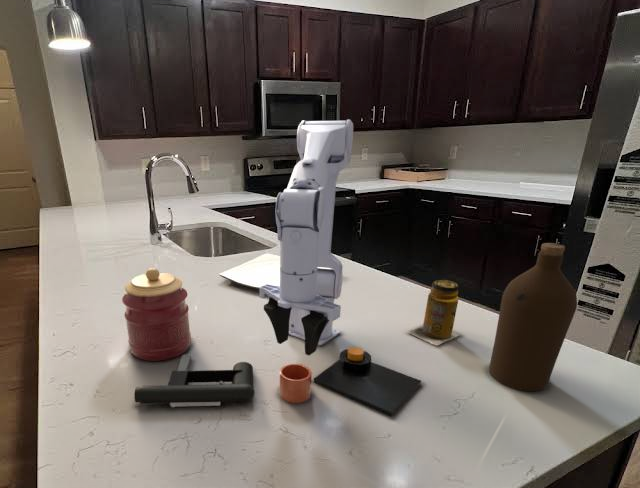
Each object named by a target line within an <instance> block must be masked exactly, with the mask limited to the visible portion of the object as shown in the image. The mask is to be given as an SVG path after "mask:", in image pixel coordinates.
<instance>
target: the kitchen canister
mask: <svg viewBox="0 0 640 488" xmlns="http://www.w3.org/2000/svg"><path fill="white" fill-rule="evenodd" d="M182 286H183V281H182V280H181V279H180V278H179V277H176V276H174V275H173V274H171V273H167V272H160V271H159V270H158V269H157V268H156V267H149V268H148V269H147V270H146V272H145V273H144V274H140V275H138V276H135V277H134V278H132V279H131V281H129V282H127V284H126V285H125V287H124V290H125V292H126V293H125V294H123V296H122V297H121V301H122V304H123V305H124V306H125V311H124V318H125V322H126V329H127V335H128V336H127V337H128V339H127V342H128V347H129V349H130V352H131V354H132V355H133V356H134V357H136V358H137V359H140V360H144V361H149V362H150V361H151V362H153V361H155V362H157V361H159V362H160V361H167V360H170V359H173V358H177V357H178V356H182V355H183V354H184V353H185V352H187V350H189V348H190V346H191V341H192V333H191V330H190V318H189V305H188V304H187V302H186V301H187V298H188V291H187V290H186V288H184V287H182Z"/></svg>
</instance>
